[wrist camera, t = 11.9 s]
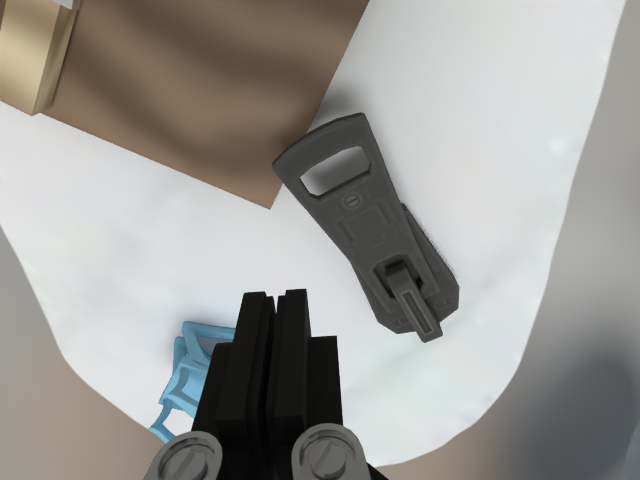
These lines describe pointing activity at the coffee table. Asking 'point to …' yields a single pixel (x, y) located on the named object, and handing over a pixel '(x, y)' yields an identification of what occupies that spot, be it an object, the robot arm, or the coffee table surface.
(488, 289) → the coffee table surface
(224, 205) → the coffee table surface
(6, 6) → the link
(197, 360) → the chair
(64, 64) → the walnut board
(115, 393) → the coffee table surface
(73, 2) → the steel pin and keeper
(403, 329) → the zipper pull
